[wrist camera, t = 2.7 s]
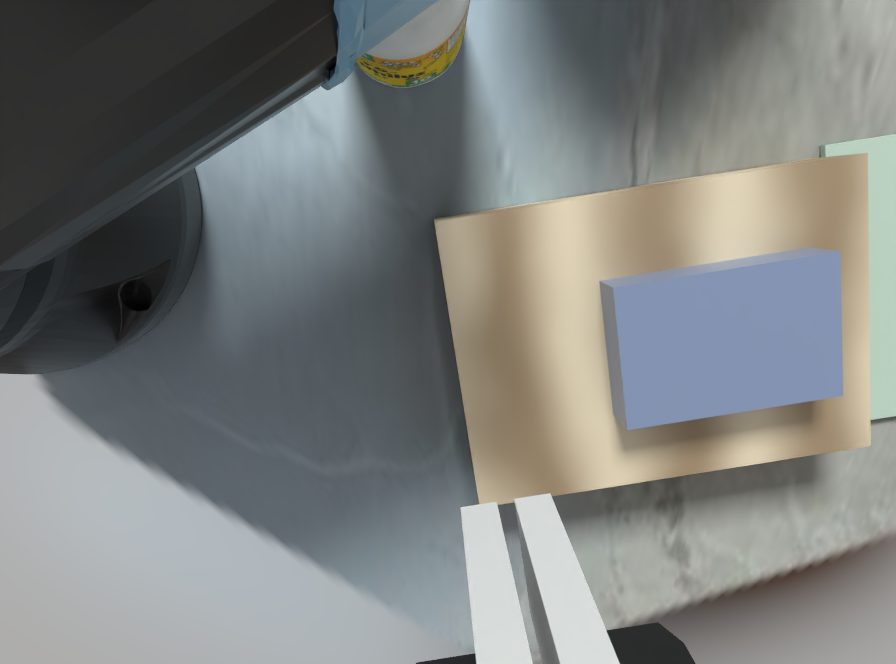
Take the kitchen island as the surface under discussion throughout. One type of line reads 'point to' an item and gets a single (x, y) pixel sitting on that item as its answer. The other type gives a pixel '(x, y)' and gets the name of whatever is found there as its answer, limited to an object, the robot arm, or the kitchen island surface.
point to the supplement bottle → (419, 47)
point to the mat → (879, 265)
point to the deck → (583, 336)
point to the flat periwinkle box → (724, 337)
